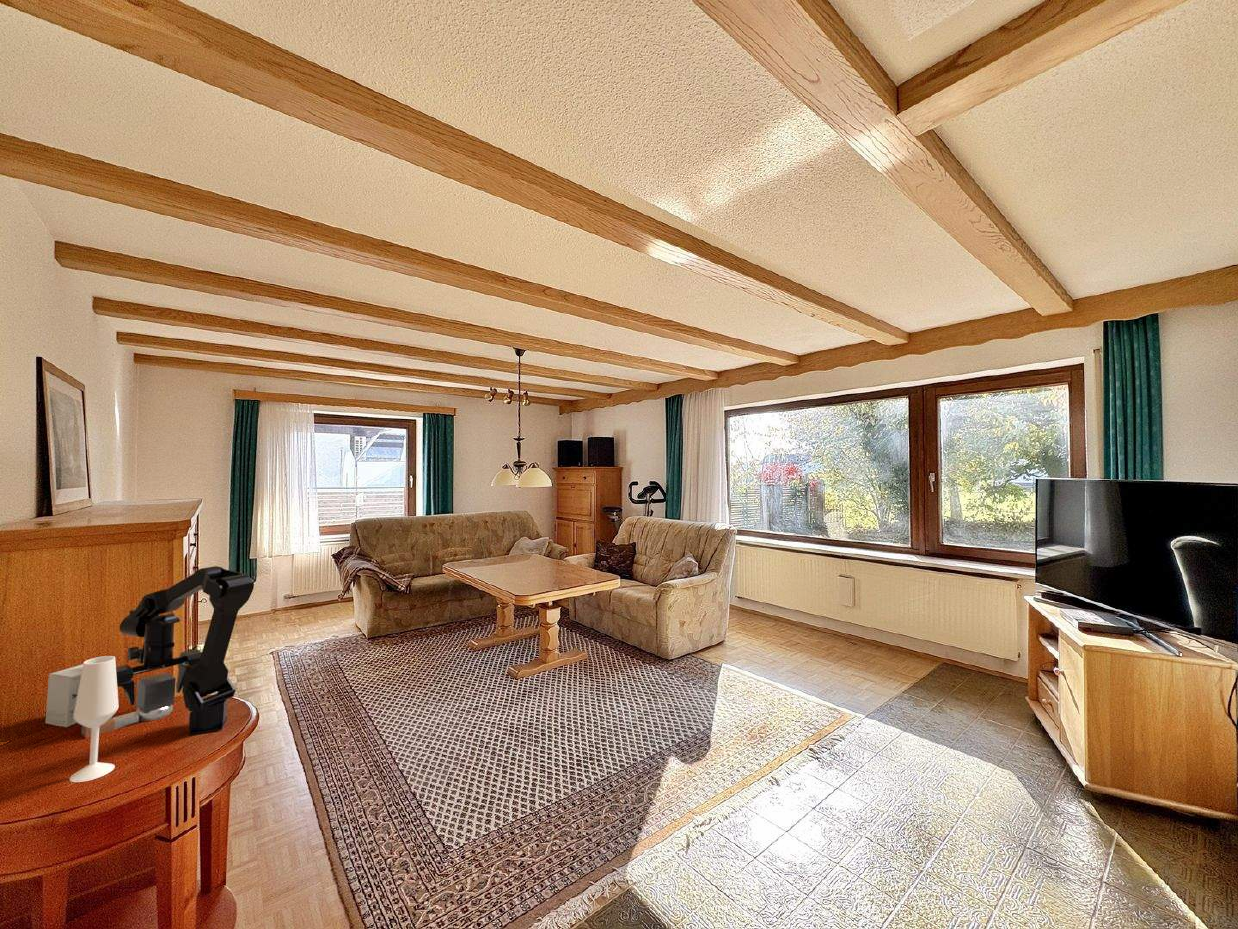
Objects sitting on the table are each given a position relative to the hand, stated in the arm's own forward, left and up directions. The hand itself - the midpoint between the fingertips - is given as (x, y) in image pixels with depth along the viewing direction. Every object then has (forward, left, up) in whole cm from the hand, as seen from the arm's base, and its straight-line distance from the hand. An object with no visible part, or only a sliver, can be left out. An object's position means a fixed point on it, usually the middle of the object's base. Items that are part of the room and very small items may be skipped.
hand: (155, 698), depth 131 cm
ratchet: (+4, +2, -4) cm, 6 cm away
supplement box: (+17, -5, -4) cm, 18 cm away
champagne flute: (+3, +26, -4) cm, 27 cm away
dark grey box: (0, 0, -2) cm, 2 cm away
